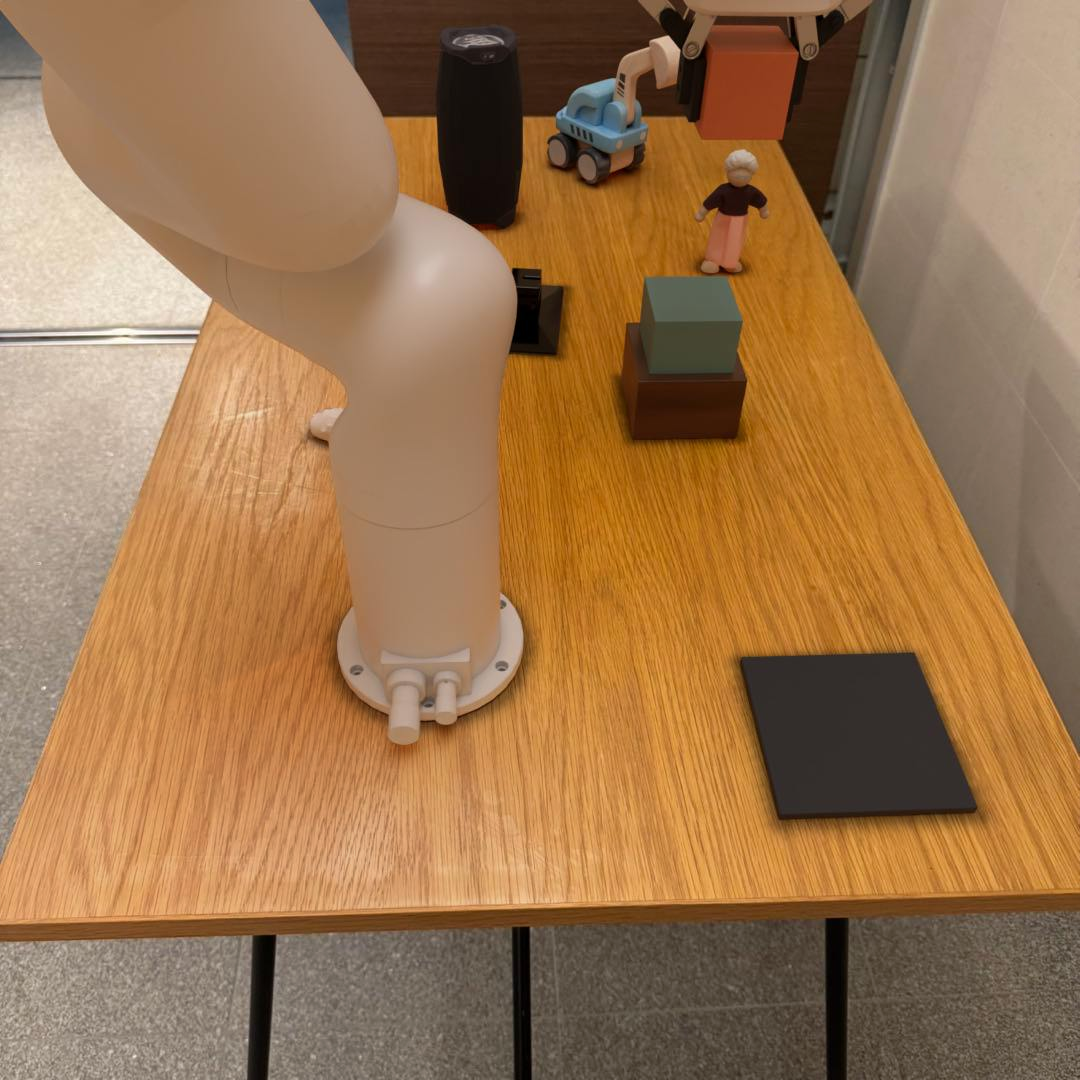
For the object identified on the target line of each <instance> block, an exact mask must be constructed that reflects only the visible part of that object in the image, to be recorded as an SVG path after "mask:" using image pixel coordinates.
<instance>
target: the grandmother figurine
mask: <svg viewBox="0 0 1080 1080" xmlns="http://www.w3.org/2000/svg"><path fill="white" fill-rule="evenodd" d="M758 170H759V163H758V161H757V158H756V156H755V155H754V154H752V153H751V152H749V151H747V150H746V149H745V148H743V149H738V150H734V151H732V152H730V153H729V155H728V157H727V158H726V159H725V161H724V172H726V178H727V181H728V182H725V183H721V184H719V185H718V186H717V187H716V188H715V189H714V190H713V191H712V192H711V193H710V194H709V195H708V196H707V197H706V199H704V200H703V202H702V205H701V206H700V208H699V209H698V212H697V213H696V214H695V216H694V220H695V221H696V222H697V223H703V222H704V220H705V218H706V217H707V216H708V215H709V213H710V212H711V211H712V210H715V209H717V210H716V212H715V215H714V218H713V222H712V225H711V229H710V232H709V236H708V239H707V244H706V249H705V250H706V251H705V254H704V258H705V259H704V260H703V262H702V263H701V265H700V270H701V272H703V273H705V274H717V273H718V272H719V271H720V267H721V268H723V270H724V271H726V272H727V273H740V272H742V270H743V266H742V264H741V262H740V261H739V260H740V259H741V257H742V252H743V249H744V245H745V240H746V235H747V226H748V221H749V220H748V219H749V207H752V208H755V209H757V211H758V212H759V217H760V219H762V220H767V219H769V217H770V216H771V215H770V214H771V212H770V211H769V207H768V198H767V196H766V195H765V194H764V193H763V192H762V191H761V190H760V189H759V188H757V187H756V186H754V185H752V184H749V183H750V182H751V180H752V178H753V176H754V175H756V174H757V171H758Z"/></svg>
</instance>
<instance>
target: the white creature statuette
mask: <svg viewBox="0 0 1080 1080" xmlns="http://www.w3.org/2000/svg"><path fill="white" fill-rule="evenodd" d="M343 410H344V408H343V407H338V408H337V407H332V408H329V409H327V408H324V409H323V410H322V411H318V412H315V413H313V414H312V418H310V421H309V422H310V425H309V426H310V433H311V435H312V436H314V437H316V438H317V439H319V440H323V441H327V443H328V444H329V440H330V434H331V431H332V428H333V425H334V423H335V421H336V419H337V418H338V416H339V415H340V413H341V412H342V411H343Z"/></svg>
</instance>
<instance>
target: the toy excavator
mask: <svg viewBox="0 0 1080 1080" xmlns="http://www.w3.org/2000/svg"><path fill="white" fill-rule="evenodd" d="M648 44H649V45H648V47H645V48H641V49H638V50H636V51H633V52H629V53H627V54H626V55H624V56H623V57H622V58H621V59H620V60H621V61H619V64H618V69H617V73H616V77H614V78H613V77H612V78H608V79H603V80H600V81H597V82H594V83H589V84H587V85H583V86H580V87H578V88H577V89H576V90H574V91H573V92H572V93H571V95H570V97H569V99H568V101H567V104H566V106H564V107H563V108H562V109H560V110H559V111H558V112H556V115H555V128H556V129H557V130H558V131H559V132H558V133H555V134H552V135H551V136H550V137H549V138H548V139H547V142H546V145H548V147H547V151H546V154H547V158H548V160H549V162H550V163H551V164H552V166H554V167H560V168H562V169H565V168H568V167H571V166H573V165H575V164H576V165H575V167H576V171H577V174H578V175H579V178H580V179H582V178H583V179H584V183H585V184H588V185H594V184H596V183H599V182H600V181H603V180H605V179H607V178H608V177H609V175H610V174H611V173H614V172H616V171H618V170H621V169H626V170H631V169H633V168H635V167H638V166H640V165H641V164H642V163H643V162H644V161H645V157H646V154H645V151H646V148H647V147H646V142H647V141H648V134H649V128H650V127H649V124H647V123H646V122H644V121H642V115H643V114H642V106H641V104H640V102H639V101H638V100H637V99H636V93H637V82H638V80H639V77H641V76H642V75H643V74H646V73H648V72H650V71H652V70H653V71H654V74H655V75H654V76H655V81H656V83H655V86H656V87H655V88H656V89H657V90H660V89H664V88H667V87H670V86H673V85H676V83H677V74H678V66H679V57H680V49H679V48H678V47H677V46H676V44H675V43H674V42H673V41H672V39H671V38H670V37H669V36H668V35H663V36H662V37H661V36H660V37H658V38H654V39H651V40H649V42H648ZM585 180H586V181H585Z"/></svg>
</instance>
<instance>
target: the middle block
mask: <svg viewBox="0 0 1080 1080" xmlns="http://www.w3.org/2000/svg"><path fill="white" fill-rule="evenodd" d="M639 322H640V325H639V330H640V334H641V338H642V343H643V347H644V352H645V356H646V361H647V365H648V370H649V374H702V373H733V372H734V367H735V361H736V356H737V351H738V350H739V345H740V340H741V333H742V329H743V322H744V320H743V317H742V314H741V312H740V309H739V306H738V303H737V301H736V298H735V295H734V292H733V290H732V286H731V284H730V281H729V279H728V276H727V275H724V276H722V275H720V276H719V275H718V276H717V275H715V276H713V275H711V276H709V275H707V276H701V275H700V276H697V275H696V276H644V277H643V288H642V296H641V307H640V315H639Z"/></svg>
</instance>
